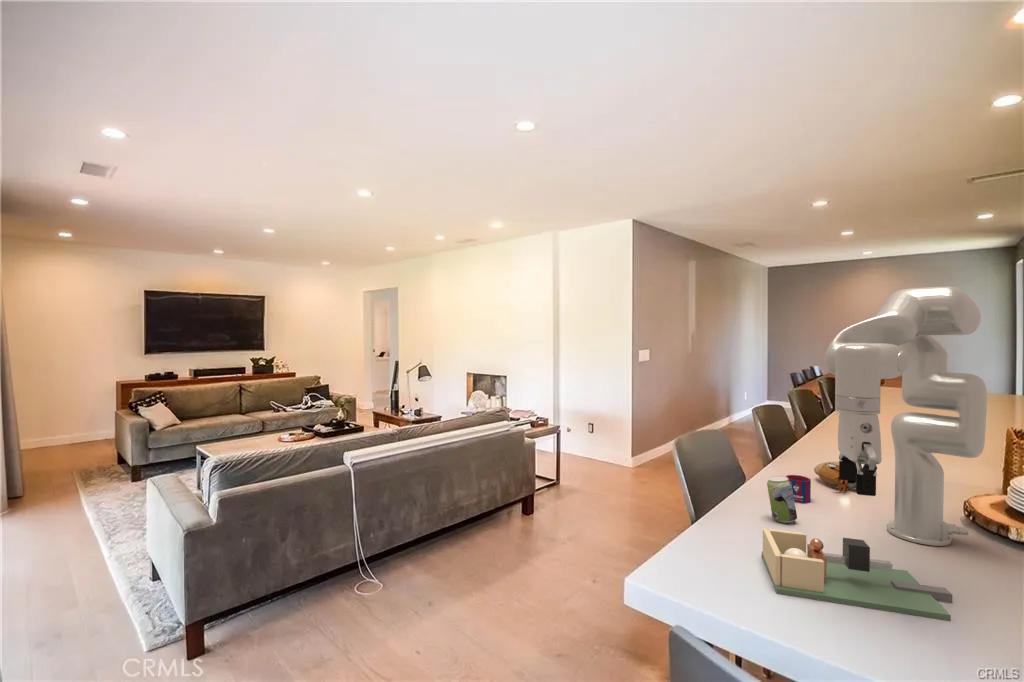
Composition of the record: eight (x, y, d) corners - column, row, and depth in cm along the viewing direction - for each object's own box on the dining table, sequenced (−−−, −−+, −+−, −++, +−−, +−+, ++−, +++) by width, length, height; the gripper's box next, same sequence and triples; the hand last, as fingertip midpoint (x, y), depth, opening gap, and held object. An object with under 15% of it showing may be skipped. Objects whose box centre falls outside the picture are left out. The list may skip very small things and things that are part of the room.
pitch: (926, 577, 101) (927, 545, 101) (975, 624, 85) (975, 585, 84) (761, 555, 111) (761, 525, 111) (776, 593, 95) (776, 558, 95)
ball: (780, 542, 104) (780, 565, 104) (785, 552, 99) (785, 576, 99) (806, 545, 103) (806, 568, 103) (813, 555, 98) (813, 579, 98)
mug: (783, 500, 148) (783, 478, 148) (789, 491, 155) (789, 471, 155) (808, 505, 143) (809, 482, 143) (813, 496, 151) (813, 475, 151)
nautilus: (861, 502, 147) (806, 494, 157) (869, 482, 163) (818, 475, 173) (860, 477, 147) (804, 470, 157) (868, 459, 163) (817, 454, 173)
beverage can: (800, 526, 128) (801, 481, 128) (771, 523, 129) (771, 480, 129) (791, 517, 134) (792, 475, 134) (763, 515, 135) (764, 473, 135)
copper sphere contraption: (884, 576, 98) (884, 540, 98) (897, 591, 93) (897, 553, 93) (806, 565, 103) (806, 531, 103) (813, 578, 97) (814, 542, 97)
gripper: (898, 412, 88) (897, 503, 88) (862, 399, 104) (861, 476, 105) (850, 410, 90) (850, 499, 91) (823, 398, 107) (822, 473, 107)
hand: (856, 487), depth 98 cm, fingers open, 9 cm apart
